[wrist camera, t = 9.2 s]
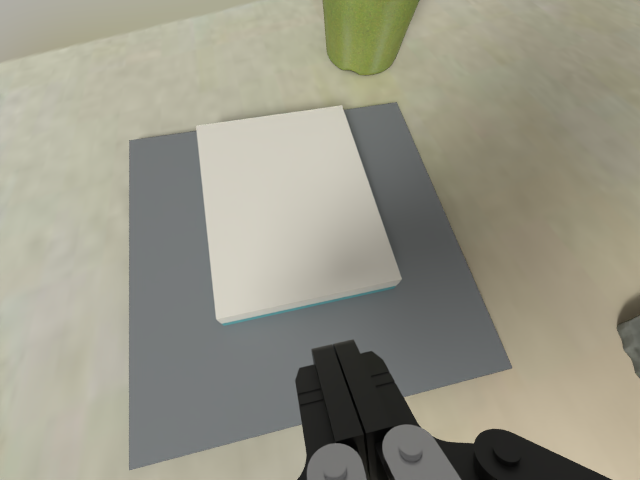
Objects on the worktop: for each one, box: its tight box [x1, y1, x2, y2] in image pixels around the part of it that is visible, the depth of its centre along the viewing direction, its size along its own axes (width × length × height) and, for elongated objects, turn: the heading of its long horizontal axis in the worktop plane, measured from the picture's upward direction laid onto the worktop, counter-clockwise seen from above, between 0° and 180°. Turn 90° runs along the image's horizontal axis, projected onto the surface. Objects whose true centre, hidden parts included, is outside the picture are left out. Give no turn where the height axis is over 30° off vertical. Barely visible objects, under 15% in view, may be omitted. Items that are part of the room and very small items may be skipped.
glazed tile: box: [196, 105, 402, 326], centre depth 21 cm, size 2×10×13 cm
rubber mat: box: [129, 102, 512, 470], centre depth 21 cm, size 20×20×1 cm
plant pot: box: [323, 0, 419, 75], centre depth 26 cm, size 9×9×9 cm
